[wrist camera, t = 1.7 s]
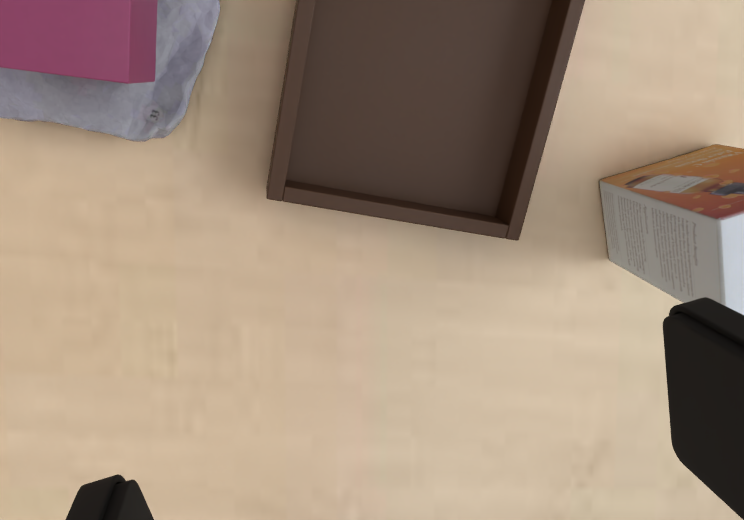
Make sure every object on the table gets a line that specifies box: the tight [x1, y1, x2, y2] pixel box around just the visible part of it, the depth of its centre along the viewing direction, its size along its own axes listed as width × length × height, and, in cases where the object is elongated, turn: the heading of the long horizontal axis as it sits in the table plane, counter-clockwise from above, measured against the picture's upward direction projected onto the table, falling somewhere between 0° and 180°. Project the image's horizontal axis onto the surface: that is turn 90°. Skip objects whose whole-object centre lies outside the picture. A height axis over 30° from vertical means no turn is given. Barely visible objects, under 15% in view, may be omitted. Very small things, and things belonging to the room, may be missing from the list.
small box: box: [599, 144, 744, 315], centre depth 33 cm, size 8×6×10 cm
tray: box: [267, 0, 585, 240], centre depth 31 cm, size 14×17×3 cm
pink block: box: [0, 0, 158, 84], centre depth 23 cm, size 5×5×6 cm
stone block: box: [0, 0, 220, 141], centre depth 28 cm, size 12×5×10 cm
